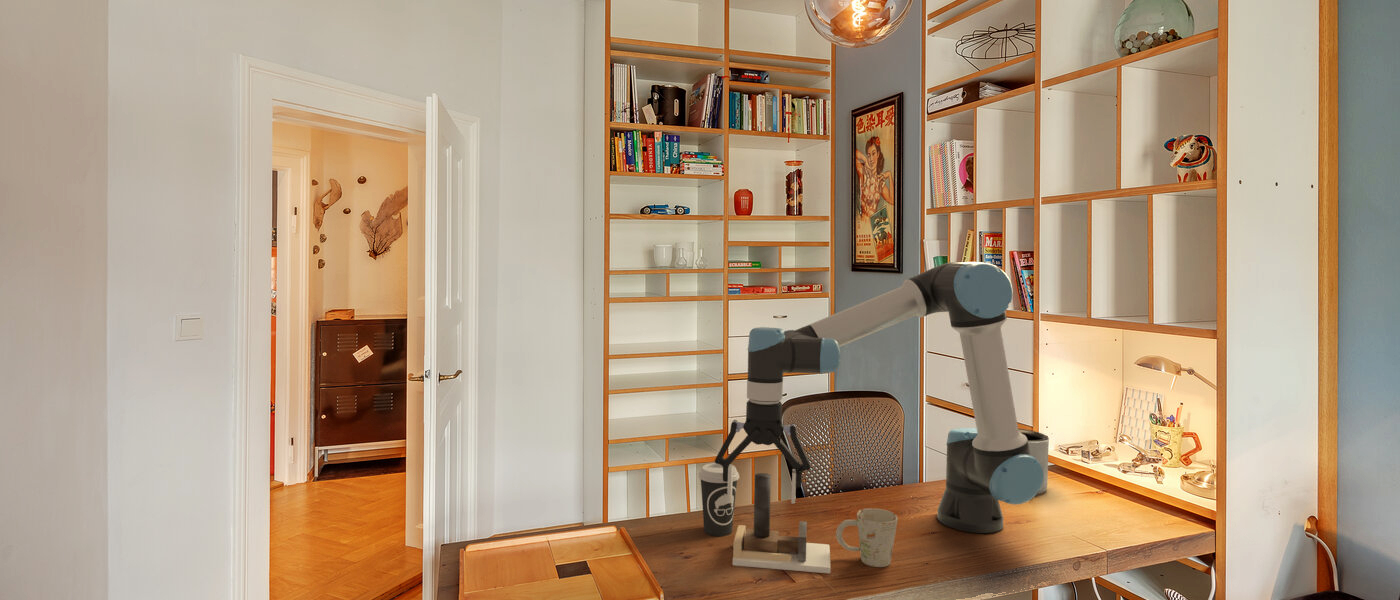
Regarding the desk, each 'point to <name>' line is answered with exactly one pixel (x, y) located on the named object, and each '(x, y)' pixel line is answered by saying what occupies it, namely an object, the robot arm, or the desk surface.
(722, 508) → the coffee cup
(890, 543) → the mug
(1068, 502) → the desk surface
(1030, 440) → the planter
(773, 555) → the white slotted peg base
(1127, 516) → the desk surface
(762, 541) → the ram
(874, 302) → the robot arm
